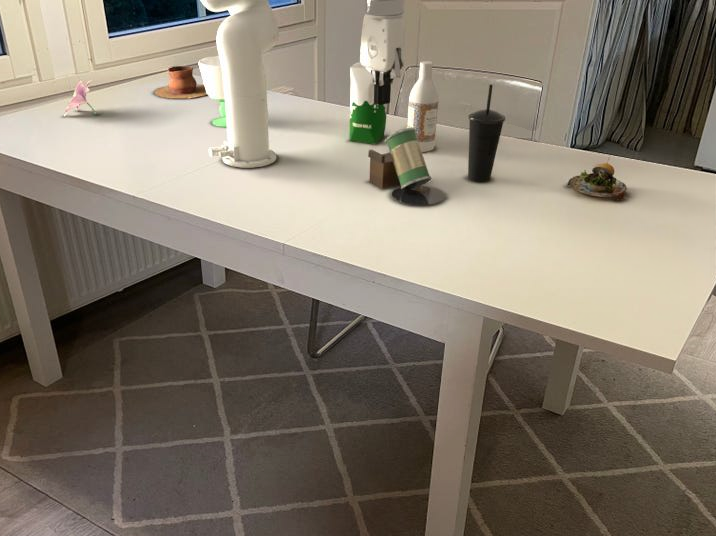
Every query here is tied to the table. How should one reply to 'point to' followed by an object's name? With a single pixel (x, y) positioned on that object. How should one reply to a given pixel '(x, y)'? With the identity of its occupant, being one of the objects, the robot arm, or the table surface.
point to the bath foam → (424, 107)
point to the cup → (214, 84)
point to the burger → (599, 182)
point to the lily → (79, 97)
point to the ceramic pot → (181, 84)
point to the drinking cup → (483, 141)
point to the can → (408, 159)
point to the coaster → (418, 196)
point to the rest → (382, 170)
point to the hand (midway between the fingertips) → (381, 103)
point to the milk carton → (365, 108)
